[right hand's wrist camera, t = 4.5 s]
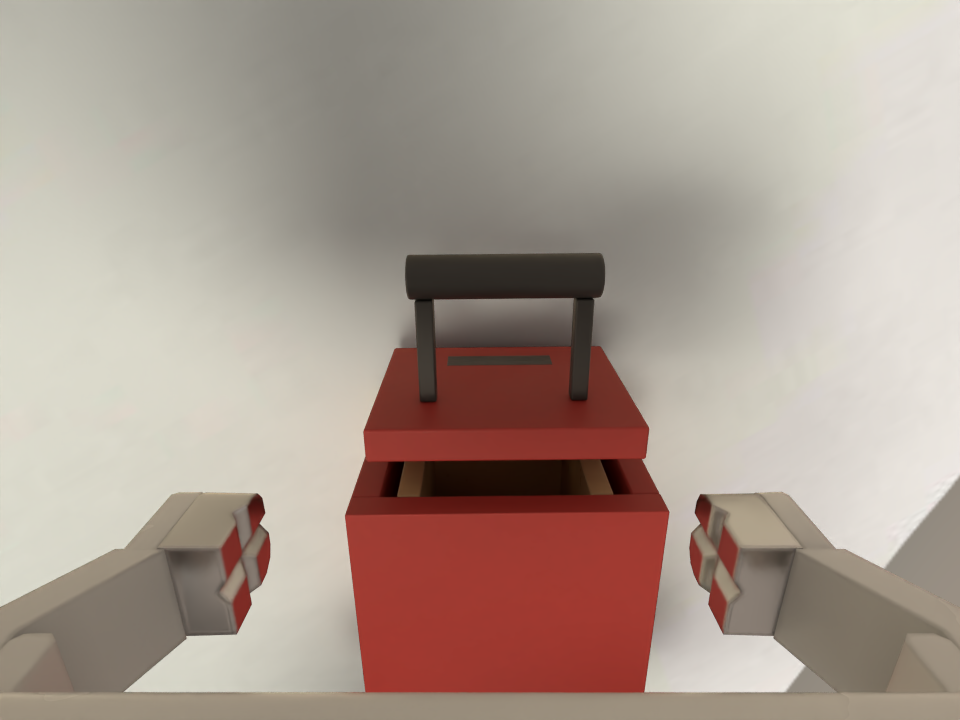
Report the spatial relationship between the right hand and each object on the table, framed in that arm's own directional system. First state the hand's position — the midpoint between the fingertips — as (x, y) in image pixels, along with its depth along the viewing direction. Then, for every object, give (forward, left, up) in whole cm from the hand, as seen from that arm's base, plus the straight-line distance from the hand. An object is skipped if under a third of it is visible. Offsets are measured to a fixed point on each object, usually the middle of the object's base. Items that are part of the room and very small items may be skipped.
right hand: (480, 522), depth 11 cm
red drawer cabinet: (+13, -3, -16) cm, 20 cm away
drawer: (+7, -1, -15) cm, 16 cm away
